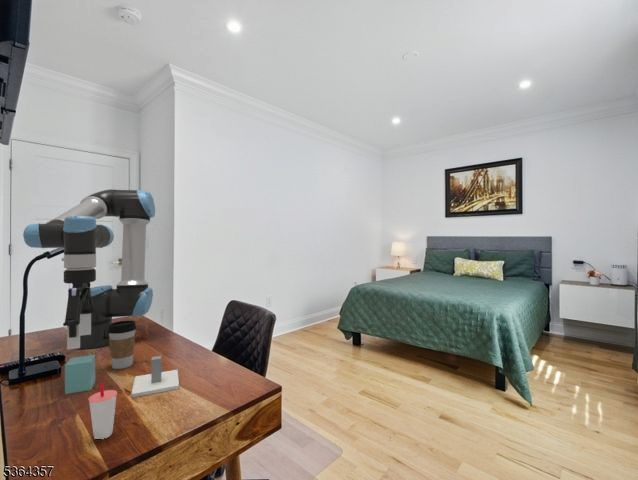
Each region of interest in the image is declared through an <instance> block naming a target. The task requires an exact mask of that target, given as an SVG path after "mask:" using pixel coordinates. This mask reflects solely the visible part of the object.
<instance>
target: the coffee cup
mask: <svg viewBox="0 0 638 480" xmlns="http://www.w3.org/2000/svg"><path fill="white" fill-rule="evenodd" d="M136 330H137V325H136V321H135V320H122V321H121V320H120V321H115V322H112V323H111V324H110V325H109V329H108V333H109V352H110V358H111V367H112V369H113V370H122V369H127V368H129V367H131V366H132V365H133V363H134V362H133V361H134V359H133V358H134V349H135V340H136Z"/></svg>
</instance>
